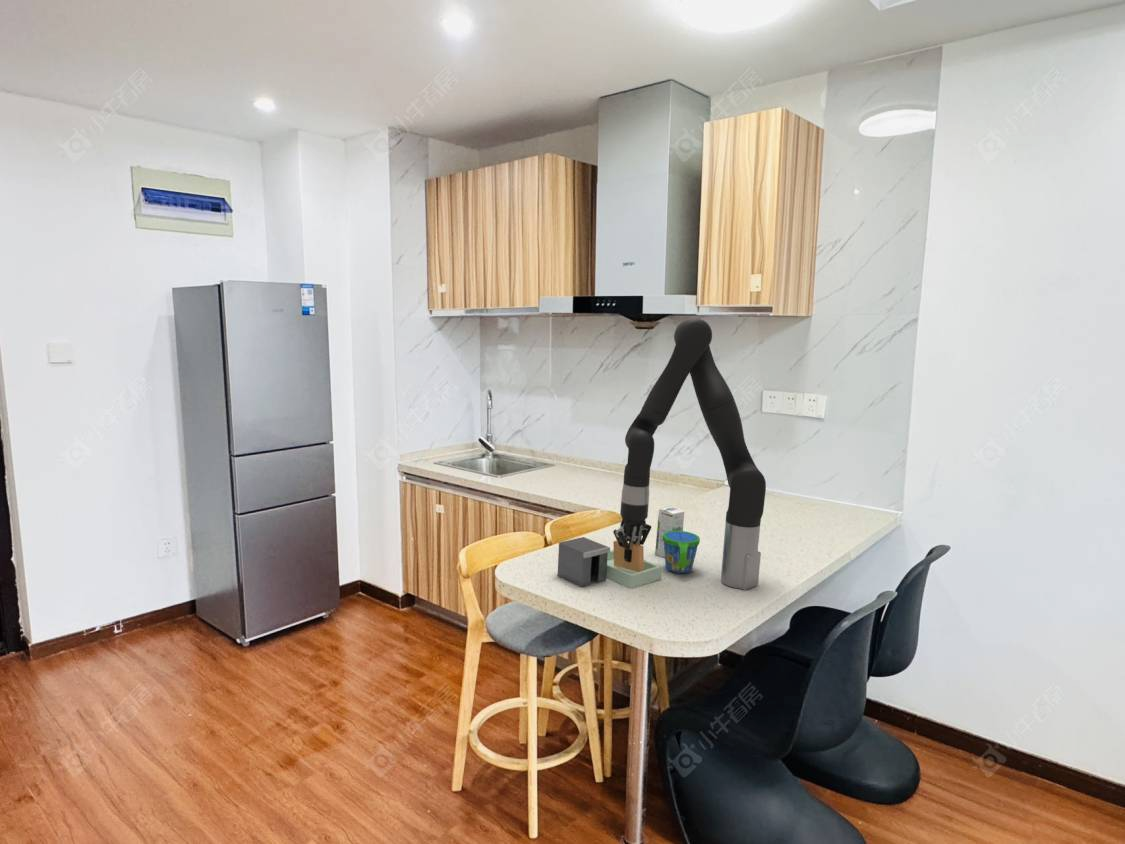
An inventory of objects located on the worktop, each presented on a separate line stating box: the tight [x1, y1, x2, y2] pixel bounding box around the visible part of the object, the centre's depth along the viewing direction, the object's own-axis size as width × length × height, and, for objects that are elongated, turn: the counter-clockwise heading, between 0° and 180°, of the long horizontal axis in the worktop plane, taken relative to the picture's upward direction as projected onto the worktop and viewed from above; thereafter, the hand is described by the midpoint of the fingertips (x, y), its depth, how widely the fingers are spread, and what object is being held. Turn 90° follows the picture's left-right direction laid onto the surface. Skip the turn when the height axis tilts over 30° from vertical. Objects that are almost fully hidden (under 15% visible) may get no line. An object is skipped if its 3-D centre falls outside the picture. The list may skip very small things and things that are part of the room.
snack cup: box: [663, 530, 701, 574], centre depth 193 cm, size 16×10×10 cm
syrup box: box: [654, 506, 685, 558], centre depth 204 cm, size 6×6×14 cm
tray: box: [606, 548, 663, 589], centre depth 188 cm, size 18×12×4 cm, turn 40°
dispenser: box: [557, 536, 611, 588], centre depth 183 cm, size 11×9×10 cm
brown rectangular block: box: [612, 540, 645, 572], centre depth 186 cm, size 10×2×7 cm, turn 41°
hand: (630, 560), depth 186 cm, fingers closed on brown rectangular block, 1 cm apart
